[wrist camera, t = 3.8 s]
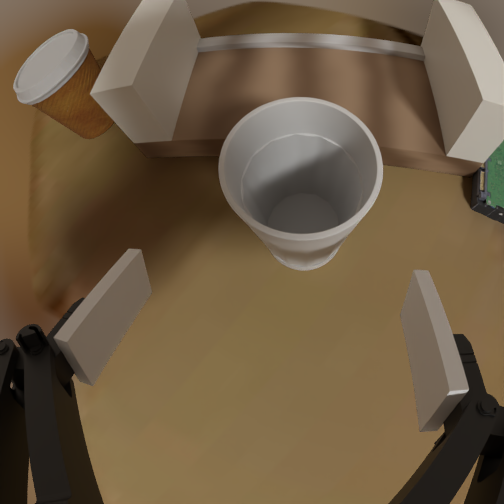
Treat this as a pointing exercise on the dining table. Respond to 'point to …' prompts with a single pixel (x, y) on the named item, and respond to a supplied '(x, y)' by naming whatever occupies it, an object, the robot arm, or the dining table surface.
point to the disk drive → (490, 186)
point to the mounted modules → (185, 53)
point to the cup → (301, 177)
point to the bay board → (313, 93)
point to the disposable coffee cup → (64, 84)
